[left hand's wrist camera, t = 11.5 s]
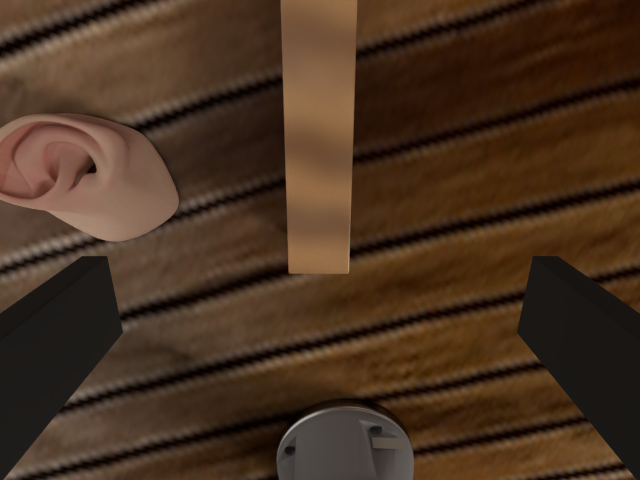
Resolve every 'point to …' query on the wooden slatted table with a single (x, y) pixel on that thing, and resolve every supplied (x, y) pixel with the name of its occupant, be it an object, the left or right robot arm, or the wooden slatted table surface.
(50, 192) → the anatomical model
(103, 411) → the wooden slatted table surface
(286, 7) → the bar
